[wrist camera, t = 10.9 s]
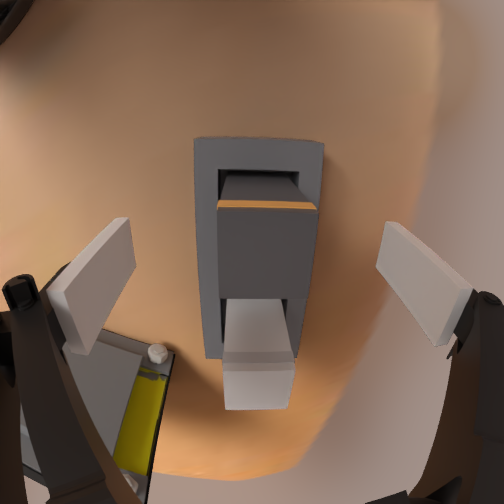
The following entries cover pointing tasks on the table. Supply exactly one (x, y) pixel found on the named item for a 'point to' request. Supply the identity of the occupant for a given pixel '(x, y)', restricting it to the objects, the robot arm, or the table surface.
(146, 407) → the electrical component
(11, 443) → the robot arm
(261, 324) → the white rectangular block
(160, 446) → the table surface
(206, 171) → the pdu strip
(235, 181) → the plug
